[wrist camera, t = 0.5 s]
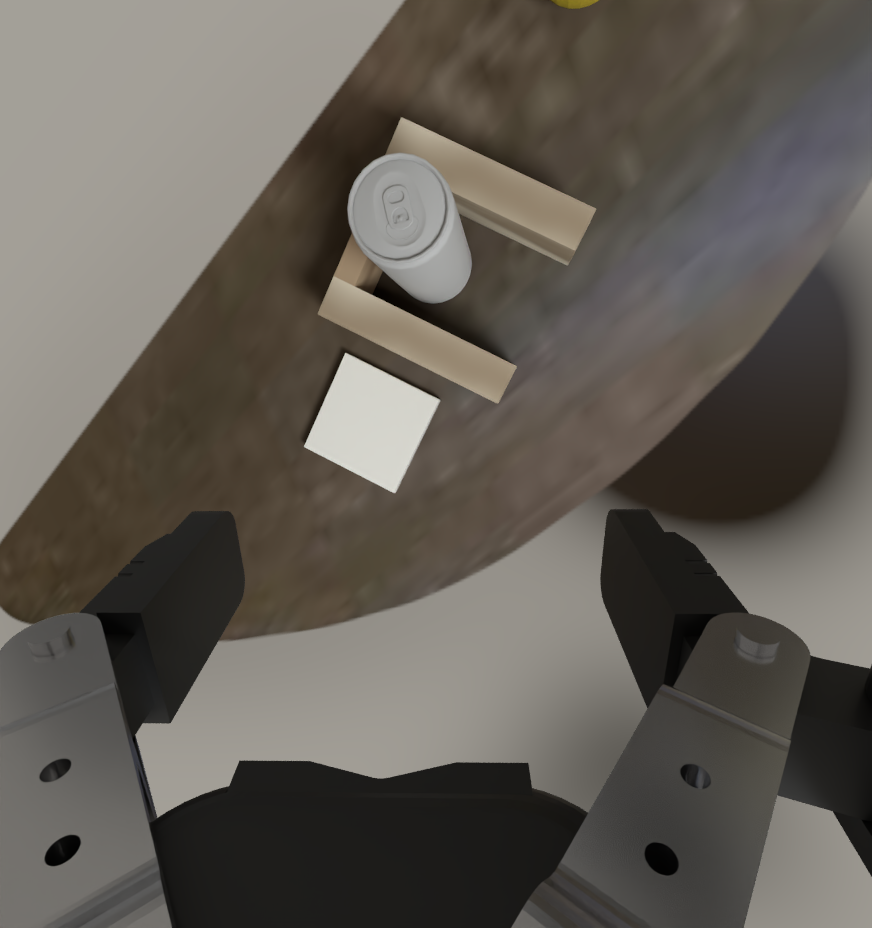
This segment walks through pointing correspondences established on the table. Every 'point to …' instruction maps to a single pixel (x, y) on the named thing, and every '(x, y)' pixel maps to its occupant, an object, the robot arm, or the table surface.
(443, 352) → the lane rack
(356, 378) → the tile
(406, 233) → the beverage can
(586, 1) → the lemon
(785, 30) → the table surface
